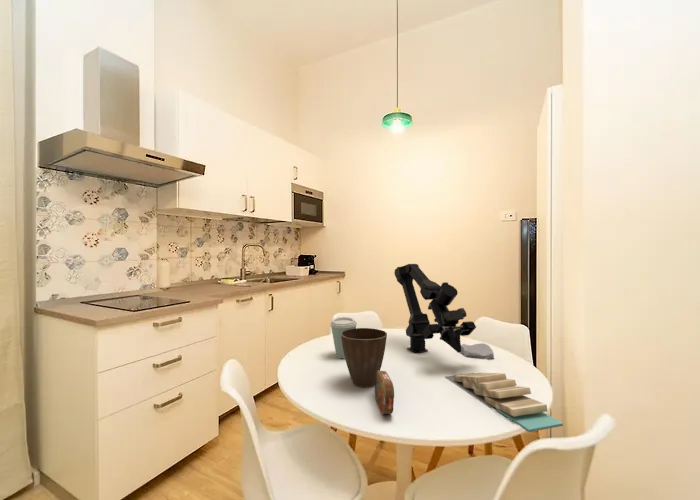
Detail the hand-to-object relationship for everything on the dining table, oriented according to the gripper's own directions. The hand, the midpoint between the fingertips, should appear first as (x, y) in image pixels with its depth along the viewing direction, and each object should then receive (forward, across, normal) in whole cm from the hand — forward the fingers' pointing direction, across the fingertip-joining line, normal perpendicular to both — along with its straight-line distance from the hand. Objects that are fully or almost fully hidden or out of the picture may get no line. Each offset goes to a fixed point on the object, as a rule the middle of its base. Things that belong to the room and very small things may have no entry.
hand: (459, 352), depth 106 cm
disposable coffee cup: (-15, -32, +28) cm, 46 cm away
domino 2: (+11, 0, -1) cm, 11 cm away
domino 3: (+15, 0, -5) cm, 15 cm away
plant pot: (+3, -33, +9) cm, 34 cm away
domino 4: (+18, 0, -8) cm, 20 cm away
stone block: (-5, +20, +18) cm, 27 cm away
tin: (+14, -33, -2) cm, 36 cm away
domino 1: (+8, 0, +2) cm, 8 cm away
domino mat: (+13, 0, -2) cm, 13 cm away
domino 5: (+22, 0, -11) cm, 24 cm away
